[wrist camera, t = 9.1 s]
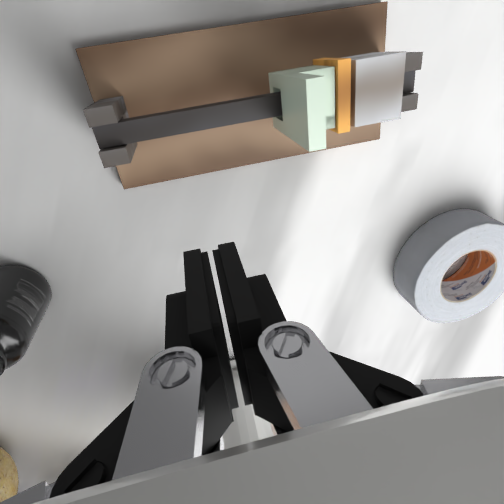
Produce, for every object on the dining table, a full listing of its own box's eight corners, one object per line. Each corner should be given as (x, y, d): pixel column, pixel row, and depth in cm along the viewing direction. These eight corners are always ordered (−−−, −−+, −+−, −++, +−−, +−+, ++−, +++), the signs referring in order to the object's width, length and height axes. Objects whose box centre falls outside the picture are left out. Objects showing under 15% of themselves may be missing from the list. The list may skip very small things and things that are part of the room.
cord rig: (374, 137, 37) (424, 156, 30) (125, 185, 35) (113, 220, 27) (381, 2, 31) (446, -14, 24) (78, 48, 28) (46, 46, 21)
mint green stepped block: (315, 119, 31) (365, 141, 23) (273, 127, 31) (309, 151, 23) (313, 65, 29) (367, 68, 21) (268, 72, 29) (305, 79, 21)
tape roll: (440, 190, 43) (470, 205, 39) (513, 229, 49) (546, 246, 44) (372, 287, 49) (391, 309, 44) (444, 311, 54) (467, 333, 50)
